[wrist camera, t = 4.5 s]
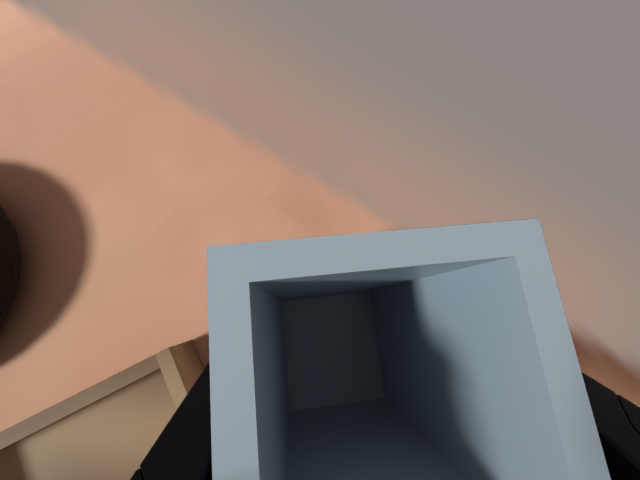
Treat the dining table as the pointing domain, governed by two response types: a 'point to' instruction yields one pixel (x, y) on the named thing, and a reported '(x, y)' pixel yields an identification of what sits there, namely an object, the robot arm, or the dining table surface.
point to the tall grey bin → (396, 359)
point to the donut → (8, 263)
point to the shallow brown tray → (102, 423)
